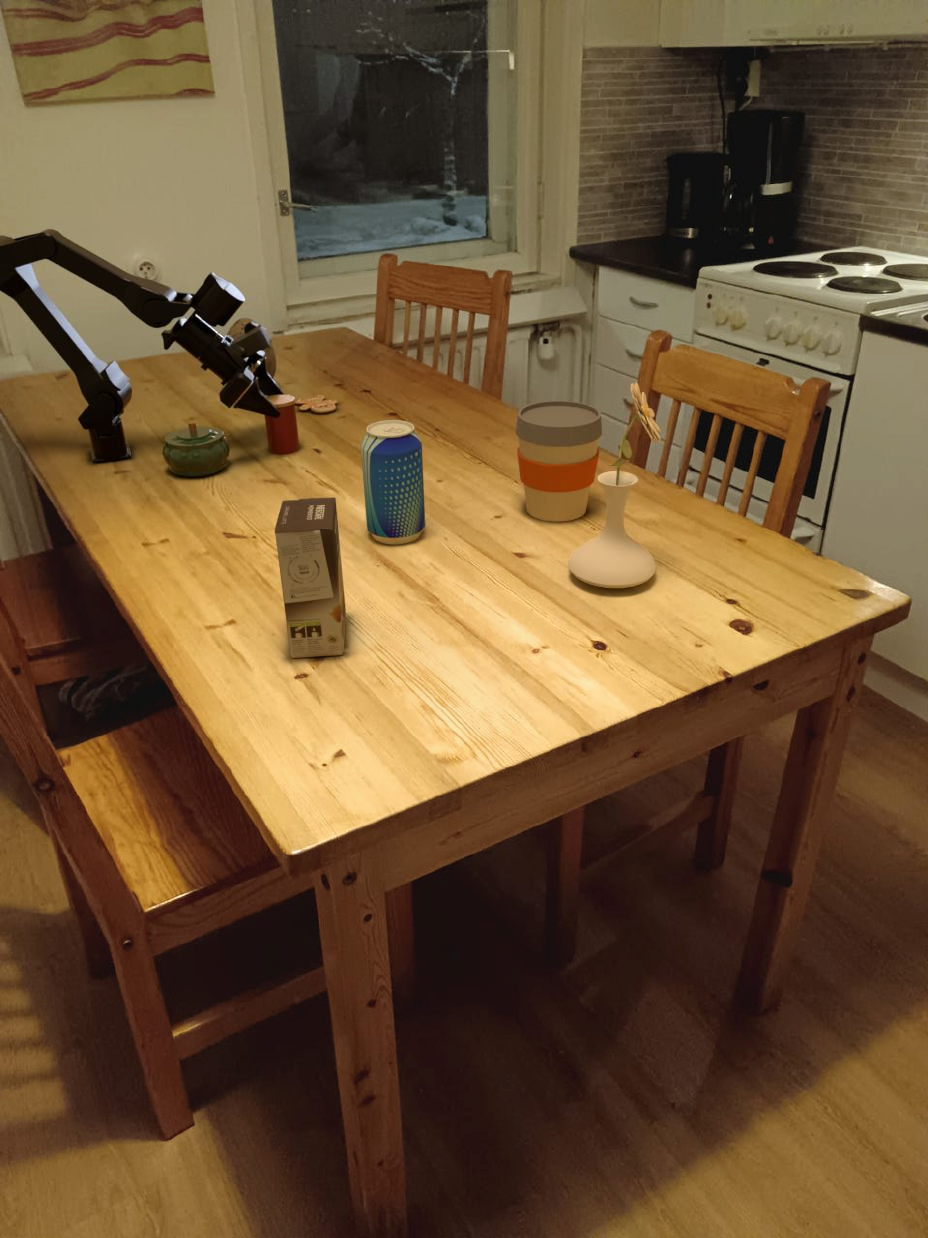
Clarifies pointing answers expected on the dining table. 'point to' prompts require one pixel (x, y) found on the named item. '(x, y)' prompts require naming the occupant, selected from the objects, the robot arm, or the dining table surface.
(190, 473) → the lidded pot
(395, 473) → the beer can
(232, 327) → the decorative egg
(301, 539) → the coffee box
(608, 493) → the flower in vase
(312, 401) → the cookie
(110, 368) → the robot arm
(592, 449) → the reusable coffee cup
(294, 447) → the tea canister
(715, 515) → the dining table surface
